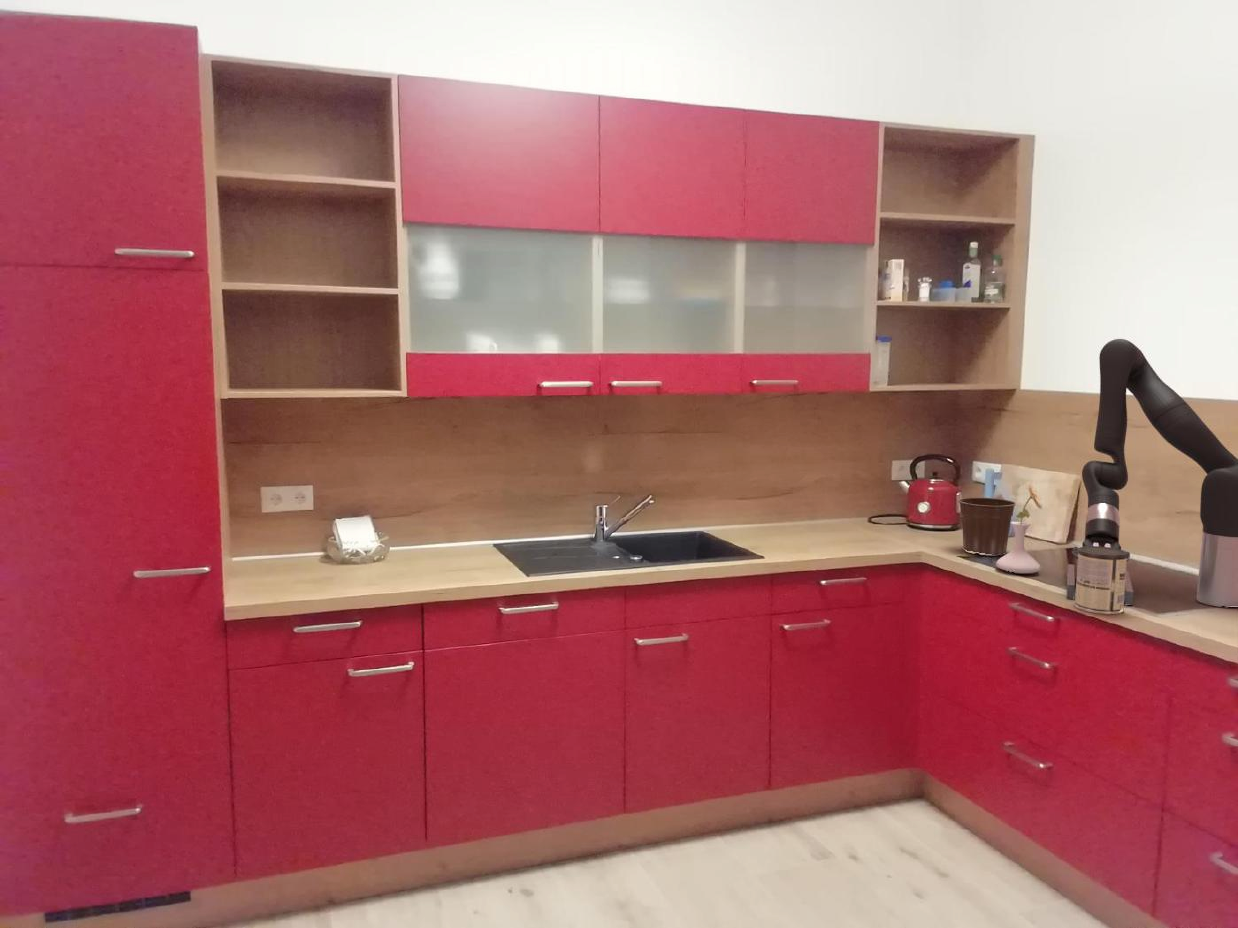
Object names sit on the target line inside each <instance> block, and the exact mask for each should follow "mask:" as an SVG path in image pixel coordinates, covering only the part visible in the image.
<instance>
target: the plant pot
mask: <svg viewBox="0 0 1238 928" xmlns="http://www.w3.org/2000/svg"><path fill="white" fill-rule="evenodd" d="M957 501H958V503H959V508H960V509H959V510H960V514H961V522H962V524H961V525H962V527H961V528H962V540H963V541H962V544H963V545H962V546H963V548H964V549H965V550H967V551H973V552H979V553H985V554H992V555H998V554H1004V553H1006V554H1007V549H1008V543H1009V542H1008V541H1009V534H1010V528H1011V522H1012V517H1013V515H1014V510H1015V506H1017V502H1015V501H1012V500H1010V499H1009V500H1008V499H1002V498H996V497H994V498H993V497H963V498H959V499H958V500H957ZM1004 555H1005V554H1004Z"/></svg>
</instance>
